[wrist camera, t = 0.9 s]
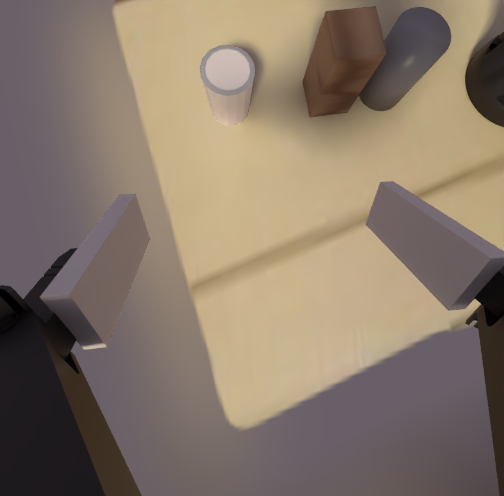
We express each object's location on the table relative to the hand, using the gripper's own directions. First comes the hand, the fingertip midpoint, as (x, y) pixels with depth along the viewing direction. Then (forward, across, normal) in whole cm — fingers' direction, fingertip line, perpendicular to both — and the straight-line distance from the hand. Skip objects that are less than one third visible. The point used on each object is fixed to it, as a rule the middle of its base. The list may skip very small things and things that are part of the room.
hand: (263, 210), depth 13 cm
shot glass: (+30, 0, +1) cm, 30 cm away
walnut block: (+30, +14, +3) cm, 34 cm away
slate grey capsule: (+31, +24, +4) cm, 39 cm away
